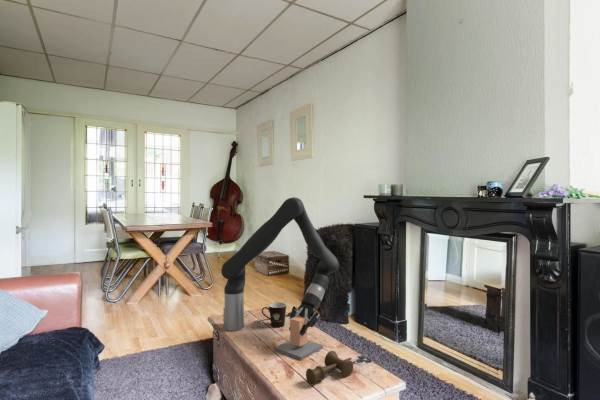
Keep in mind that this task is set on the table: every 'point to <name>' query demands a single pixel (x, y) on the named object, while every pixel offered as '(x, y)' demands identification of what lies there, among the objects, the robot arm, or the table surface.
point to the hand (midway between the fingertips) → (295, 332)
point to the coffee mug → (276, 314)
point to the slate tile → (299, 349)
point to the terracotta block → (297, 331)
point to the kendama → (329, 368)
